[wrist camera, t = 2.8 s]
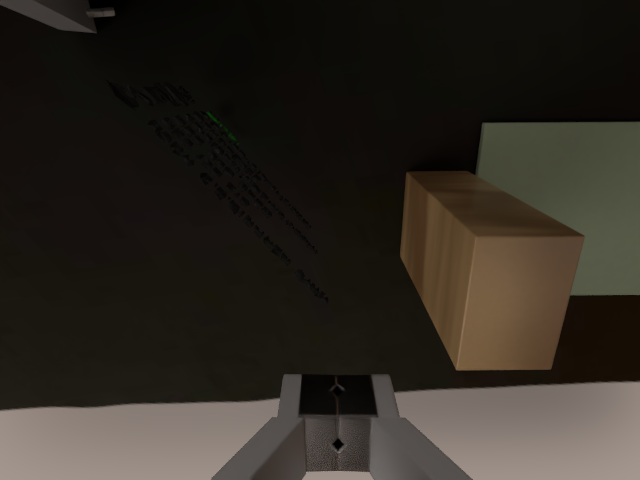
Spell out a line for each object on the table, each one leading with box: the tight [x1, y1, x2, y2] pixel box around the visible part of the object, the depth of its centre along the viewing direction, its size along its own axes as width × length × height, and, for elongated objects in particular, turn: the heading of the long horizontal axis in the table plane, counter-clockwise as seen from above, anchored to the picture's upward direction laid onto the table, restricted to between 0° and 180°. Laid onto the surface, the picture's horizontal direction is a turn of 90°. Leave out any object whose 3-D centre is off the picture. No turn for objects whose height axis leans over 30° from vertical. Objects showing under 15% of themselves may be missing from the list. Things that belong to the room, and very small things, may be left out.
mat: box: [475, 122, 640, 295], centre depth 26 cm, size 14×12×1 cm
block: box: [400, 171, 585, 370], centre depth 21 cm, size 4×6×12 cm, turn 0°
